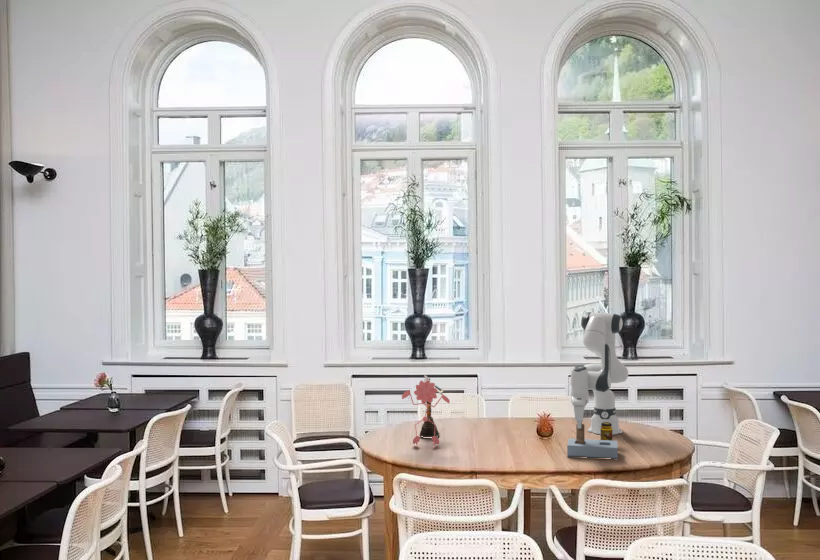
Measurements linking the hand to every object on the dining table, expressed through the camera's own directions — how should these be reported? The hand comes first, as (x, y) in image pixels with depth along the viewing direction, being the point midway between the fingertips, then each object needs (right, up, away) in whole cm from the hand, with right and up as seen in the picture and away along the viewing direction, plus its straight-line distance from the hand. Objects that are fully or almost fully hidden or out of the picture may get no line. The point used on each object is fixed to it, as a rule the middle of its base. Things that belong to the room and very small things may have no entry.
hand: (579, 425), depth 358 cm
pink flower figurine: (-77, -15, +22) cm, 81 cm away
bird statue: (-72, -15, +42) cm, 85 cm away
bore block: (+6, -14, -2) cm, 16 cm away
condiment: (+17, -14, +16) cm, 27 cm away
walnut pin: (0, -13, 0) cm, 13 cm away
